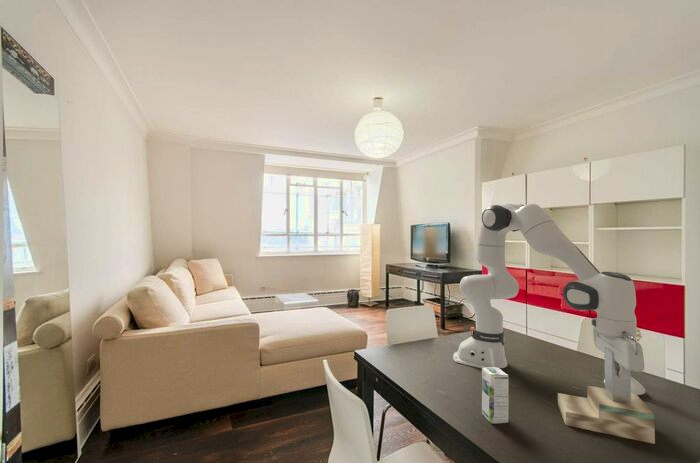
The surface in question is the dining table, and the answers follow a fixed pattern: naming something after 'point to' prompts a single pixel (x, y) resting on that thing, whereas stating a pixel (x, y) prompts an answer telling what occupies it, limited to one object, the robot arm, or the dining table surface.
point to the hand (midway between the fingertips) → (617, 374)
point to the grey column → (615, 380)
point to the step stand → (608, 415)
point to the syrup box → (495, 395)
